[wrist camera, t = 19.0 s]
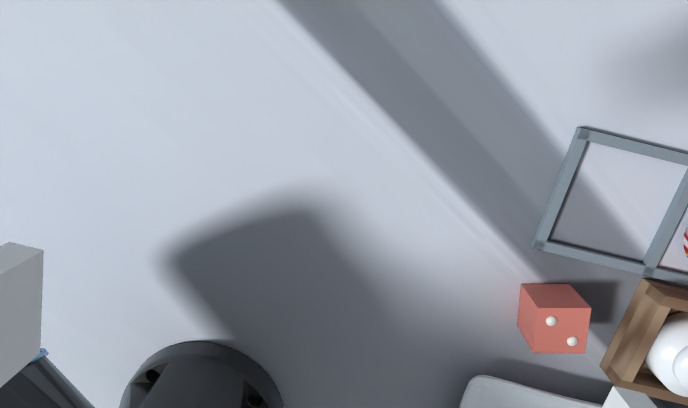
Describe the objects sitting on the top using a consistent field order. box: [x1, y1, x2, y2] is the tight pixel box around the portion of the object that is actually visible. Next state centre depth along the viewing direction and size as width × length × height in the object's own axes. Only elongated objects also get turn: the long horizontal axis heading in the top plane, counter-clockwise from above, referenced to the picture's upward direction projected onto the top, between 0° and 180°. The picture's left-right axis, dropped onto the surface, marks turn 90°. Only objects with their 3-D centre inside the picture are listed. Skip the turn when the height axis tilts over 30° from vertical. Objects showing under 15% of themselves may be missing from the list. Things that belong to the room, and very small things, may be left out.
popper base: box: [600, 278, 688, 406], centre depth 38 cm, size 9×9×3 cm
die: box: [517, 284, 591, 353], centre depth 37 cm, size 4×4×4 cm
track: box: [531, 127, 688, 286], centre depth 36 cm, size 10×19×1 cm, turn 77°
